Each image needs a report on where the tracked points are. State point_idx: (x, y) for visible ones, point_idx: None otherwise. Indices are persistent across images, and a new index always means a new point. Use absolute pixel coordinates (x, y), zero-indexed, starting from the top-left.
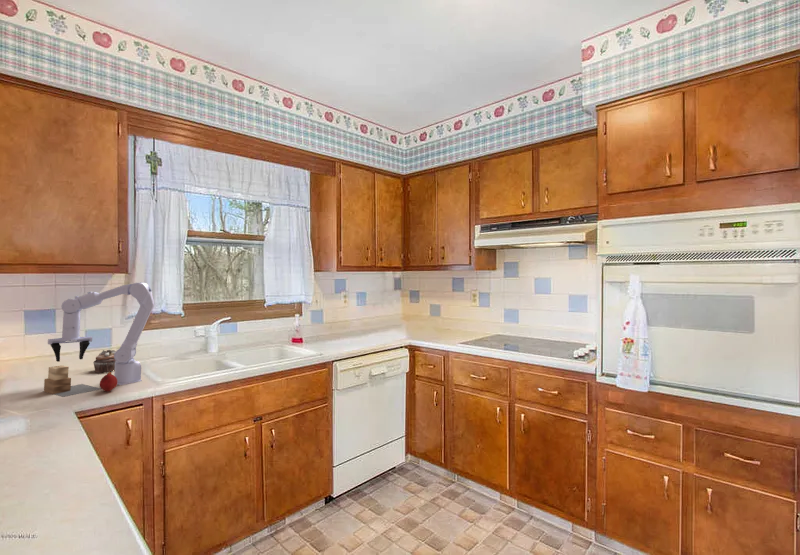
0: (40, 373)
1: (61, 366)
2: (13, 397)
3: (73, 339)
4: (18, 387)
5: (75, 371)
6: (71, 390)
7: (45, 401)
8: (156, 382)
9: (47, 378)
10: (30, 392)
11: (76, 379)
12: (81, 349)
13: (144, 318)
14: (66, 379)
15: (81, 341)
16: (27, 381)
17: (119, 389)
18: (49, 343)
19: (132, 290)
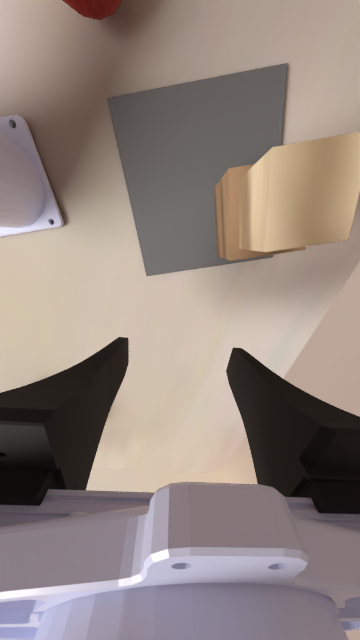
0: (176, 453)
1: (292, 206)
2: (347, 253)
3: (237, 541)
4: (268, 364)
5: (114, 435)
6: (210, 188)
7: (354, 64)
8: None
9: (293, 250)
10: (286, 285)
11: (137, 359)
12: (100, 391)
13: None
14: (250, 166)
15: (53, 499)
16: (225, 406)
17: (38, 21)
18: None
19: None
